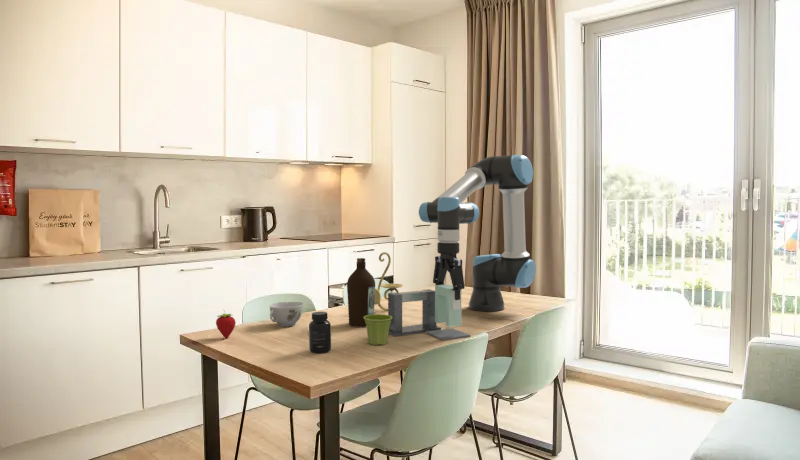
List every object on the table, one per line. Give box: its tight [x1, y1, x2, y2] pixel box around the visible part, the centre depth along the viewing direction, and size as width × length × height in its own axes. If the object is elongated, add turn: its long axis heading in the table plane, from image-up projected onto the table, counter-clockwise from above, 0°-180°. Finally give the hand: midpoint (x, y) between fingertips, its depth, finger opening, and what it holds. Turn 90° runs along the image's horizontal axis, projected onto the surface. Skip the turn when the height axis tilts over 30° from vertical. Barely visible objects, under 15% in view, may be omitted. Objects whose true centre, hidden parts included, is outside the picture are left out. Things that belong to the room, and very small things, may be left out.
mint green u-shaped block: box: [434, 283, 462, 328], centre depth 194 cm, size 5×9×13 cm, turn 28°
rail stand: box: [387, 289, 442, 337], centre depth 200 cm, size 19×8×14 cm, turn 118°
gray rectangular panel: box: [425, 327, 471, 341], centre depth 195 cm, size 11×11×1 cm
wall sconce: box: [374, 251, 404, 312], centre depth 236 cm, size 14×10×25 cm
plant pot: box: [364, 313, 392, 346], centre depth 184 cm, size 9×9×9 cm
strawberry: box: [215, 310, 236, 339], centre depth 191 cm, size 6×8×10 cm
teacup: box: [269, 301, 304, 328], centre depth 209 cm, size 15×12×8 cm
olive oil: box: [346, 257, 376, 328], centre depth 210 cm, size 11×11×25 cm
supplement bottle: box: [308, 311, 332, 354], centre depth 175 cm, size 7×7×12 cm
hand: (448, 306), depth 194 cm, fingers closed on mint green u-shaped block, 9 cm apart
